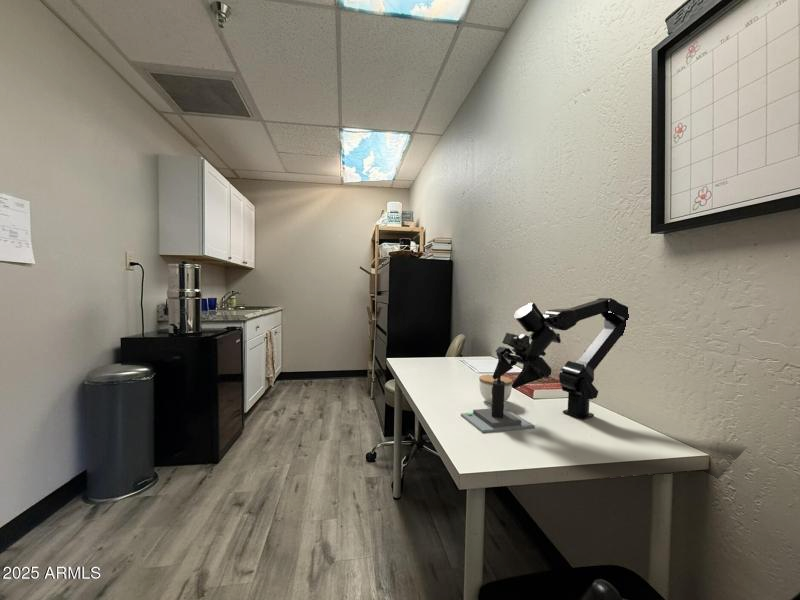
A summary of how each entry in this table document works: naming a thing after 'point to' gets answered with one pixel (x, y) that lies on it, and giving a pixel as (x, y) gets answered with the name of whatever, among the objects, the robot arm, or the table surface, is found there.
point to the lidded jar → (487, 385)
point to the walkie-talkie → (498, 395)
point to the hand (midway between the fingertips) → (502, 382)
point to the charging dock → (495, 421)
